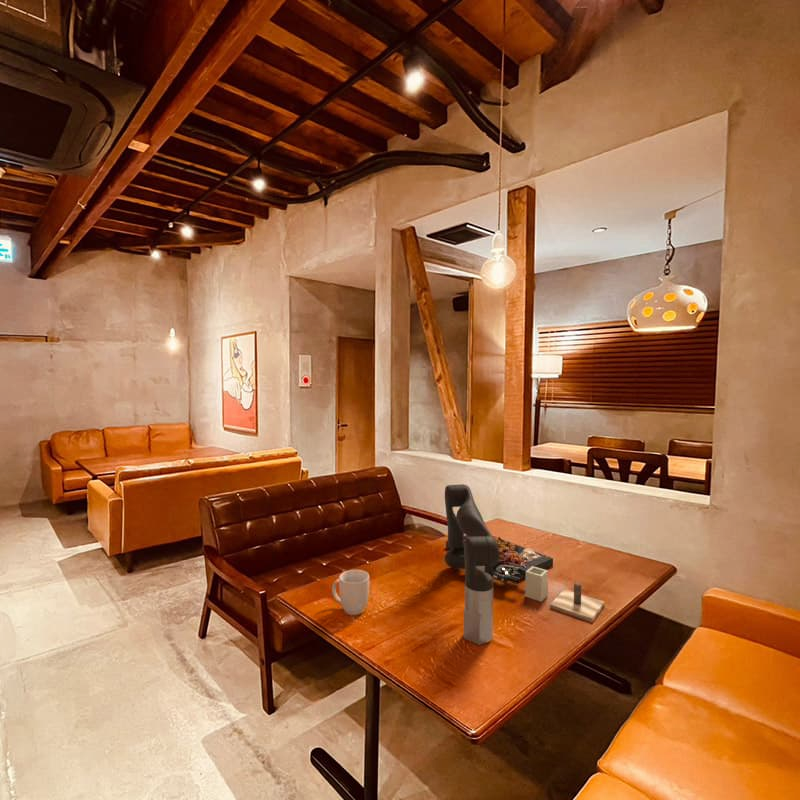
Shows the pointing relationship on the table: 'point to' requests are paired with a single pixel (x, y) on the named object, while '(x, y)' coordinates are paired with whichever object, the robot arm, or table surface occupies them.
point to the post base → (577, 604)
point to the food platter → (519, 556)
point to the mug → (352, 591)
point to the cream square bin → (536, 584)
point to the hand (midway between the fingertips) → (524, 577)
